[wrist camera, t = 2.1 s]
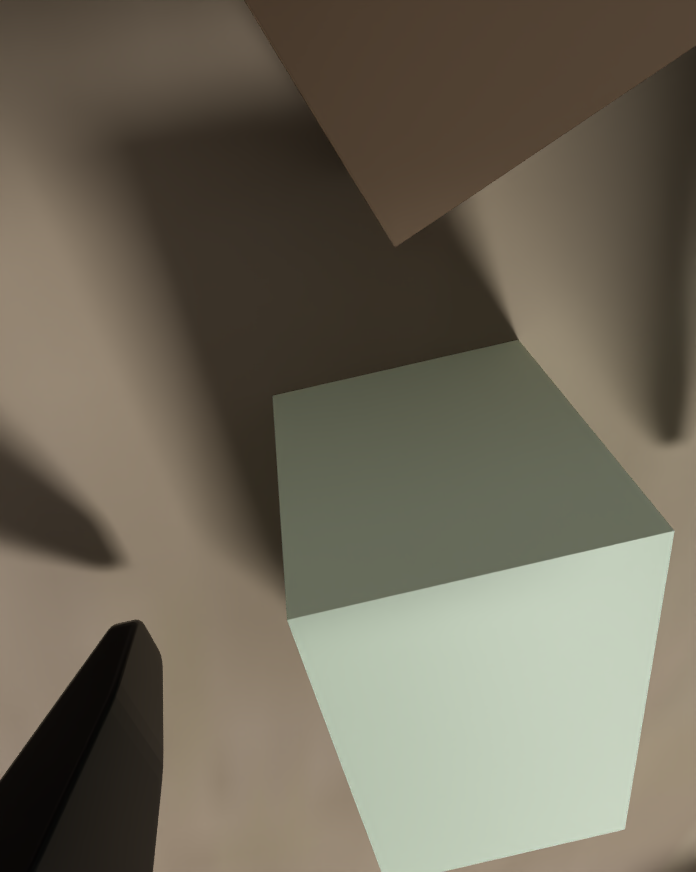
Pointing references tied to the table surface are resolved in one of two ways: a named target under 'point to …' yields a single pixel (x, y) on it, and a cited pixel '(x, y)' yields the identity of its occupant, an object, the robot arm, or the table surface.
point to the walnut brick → (461, 84)
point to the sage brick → (469, 604)
